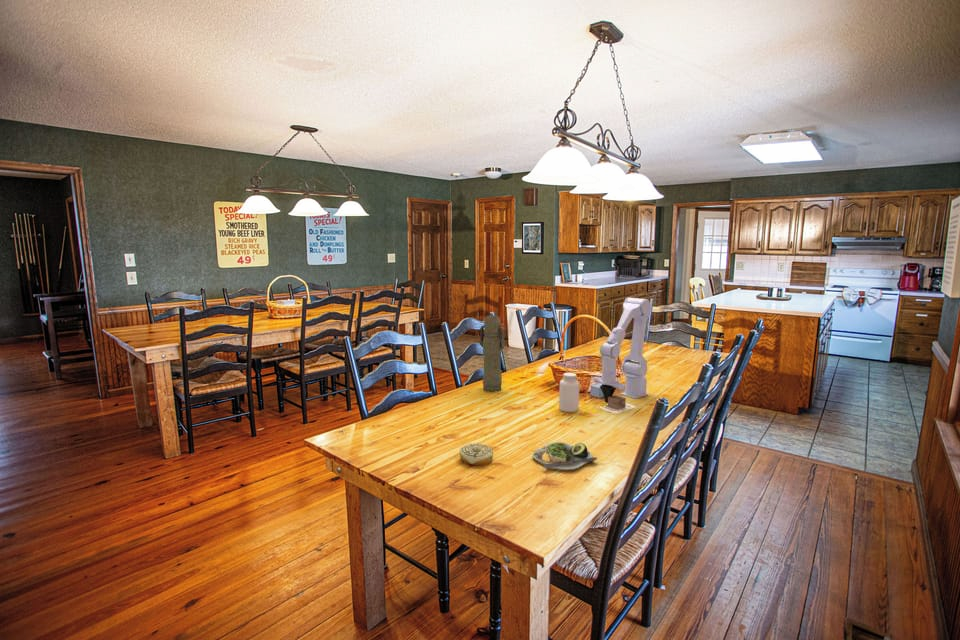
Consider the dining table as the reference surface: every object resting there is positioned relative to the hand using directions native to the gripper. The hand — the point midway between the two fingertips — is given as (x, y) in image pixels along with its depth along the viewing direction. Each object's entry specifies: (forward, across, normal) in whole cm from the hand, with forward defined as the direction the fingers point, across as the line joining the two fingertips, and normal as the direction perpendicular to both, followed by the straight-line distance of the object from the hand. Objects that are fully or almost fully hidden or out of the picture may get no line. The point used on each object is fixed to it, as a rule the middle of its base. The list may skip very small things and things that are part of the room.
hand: (607, 401), depth 200 cm
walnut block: (+1, +5, 0) cm, 5 cm away
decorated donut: (+2, +10, -75) cm, 76 cm away
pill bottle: (+1, -5, -18) cm, 19 cm away
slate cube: (+1, -9, +5) cm, 11 cm away
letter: (+1, +5, 0) cm, 5 cm away
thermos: (+1, -46, -27) cm, 53 cm away
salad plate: (+2, +26, -52) cm, 58 cm away
